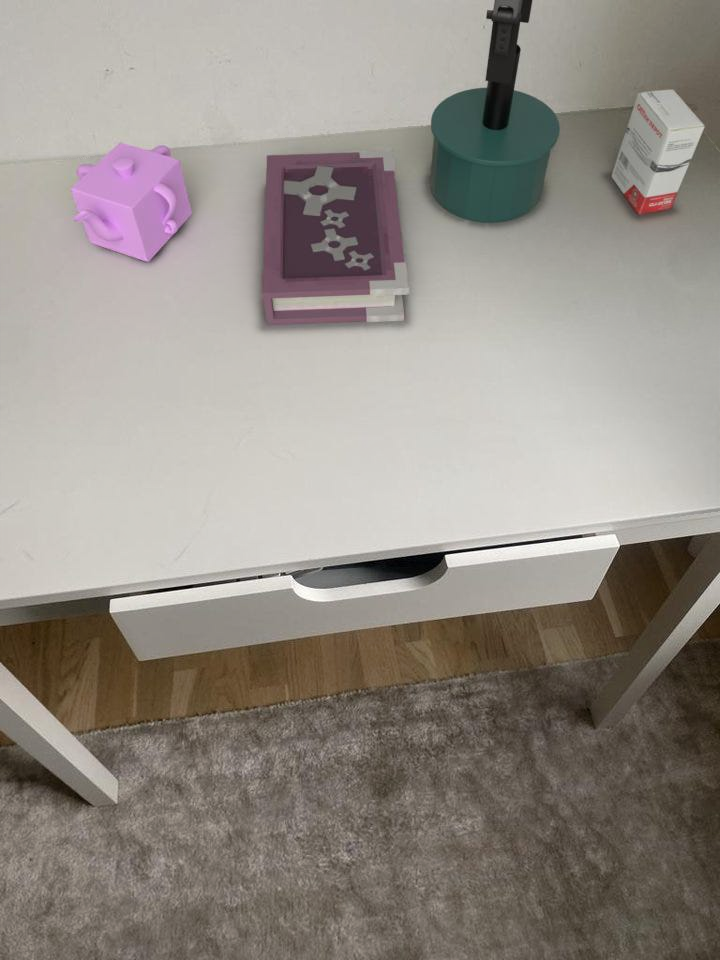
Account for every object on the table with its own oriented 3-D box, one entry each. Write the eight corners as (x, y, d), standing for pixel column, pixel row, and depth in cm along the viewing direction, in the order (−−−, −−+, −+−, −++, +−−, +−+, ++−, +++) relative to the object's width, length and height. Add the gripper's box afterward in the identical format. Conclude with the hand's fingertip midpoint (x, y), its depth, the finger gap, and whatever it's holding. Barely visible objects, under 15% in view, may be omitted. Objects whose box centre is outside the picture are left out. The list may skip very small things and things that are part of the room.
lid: (565, 106, 98) (584, 22, 89) (549, 180, 90) (568, 96, 81) (444, 88, 100) (451, 6, 92) (417, 159, 92) (423, 75, 83)
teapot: (142, 297, 90) (119, 227, 82) (47, 264, 94) (16, 193, 85) (220, 209, 99) (206, 137, 91) (131, 181, 102) (110, 109, 94)
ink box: (672, 209, 99) (707, 124, 89) (637, 216, 98) (668, 130, 88) (643, 170, 103) (673, 85, 93) (609, 176, 103) (636, 90, 93)
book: (406, 320, 88) (408, 287, 84) (267, 325, 88) (262, 293, 84) (391, 183, 102) (392, 149, 98) (270, 187, 102) (266, 154, 97)
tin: (547, 163, 104) (561, 103, 97) (532, 231, 97) (545, 171, 89) (443, 147, 106) (448, 87, 99) (420, 212, 99) (424, 152, 92)
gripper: (522, -238, 76) (493, -6, 93) (477, -147, 62) (453, 104, 80) (599, -233, 74) (555, 1, 92) (570, -139, 61) (525, 114, 79)
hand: (508, 49), depth 86 cm, fingers open, 13 cm apart
